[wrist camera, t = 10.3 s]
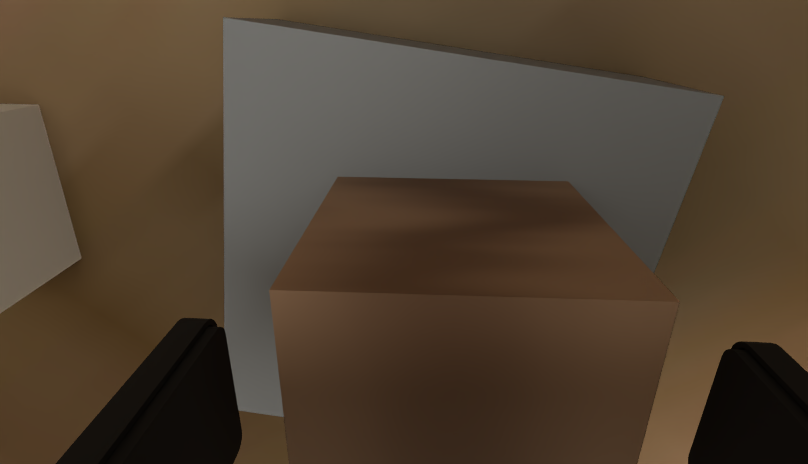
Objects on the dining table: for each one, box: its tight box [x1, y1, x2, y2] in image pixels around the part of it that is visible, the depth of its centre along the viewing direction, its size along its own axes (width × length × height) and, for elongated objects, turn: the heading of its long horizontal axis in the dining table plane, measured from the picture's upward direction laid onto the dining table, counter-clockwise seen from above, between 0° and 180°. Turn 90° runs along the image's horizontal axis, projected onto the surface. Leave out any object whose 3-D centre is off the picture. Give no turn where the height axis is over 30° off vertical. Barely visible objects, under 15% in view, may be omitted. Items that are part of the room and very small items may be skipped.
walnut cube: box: [269, 177, 680, 464], centre depth 11 cm, size 6×6×6 cm
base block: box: [223, 17, 724, 417], centre depth 16 cm, size 12×12×5 cm
